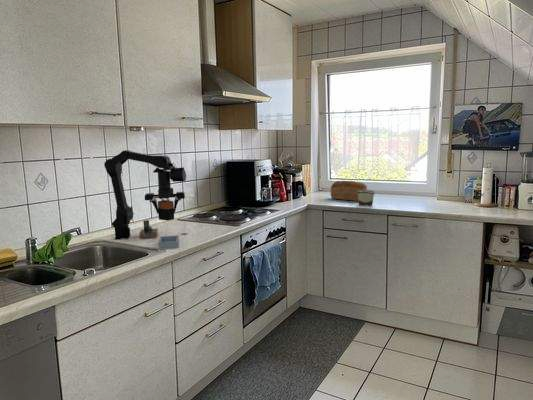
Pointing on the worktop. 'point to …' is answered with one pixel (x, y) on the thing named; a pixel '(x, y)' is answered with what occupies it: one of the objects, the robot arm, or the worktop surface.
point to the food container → (365, 197)
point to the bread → (346, 190)
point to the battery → (166, 209)
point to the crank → (146, 228)
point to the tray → (168, 242)
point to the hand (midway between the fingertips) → (166, 213)
